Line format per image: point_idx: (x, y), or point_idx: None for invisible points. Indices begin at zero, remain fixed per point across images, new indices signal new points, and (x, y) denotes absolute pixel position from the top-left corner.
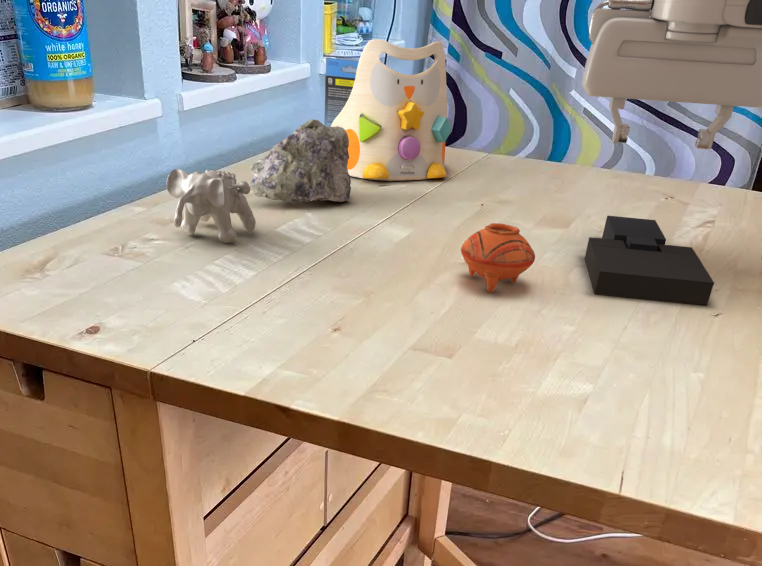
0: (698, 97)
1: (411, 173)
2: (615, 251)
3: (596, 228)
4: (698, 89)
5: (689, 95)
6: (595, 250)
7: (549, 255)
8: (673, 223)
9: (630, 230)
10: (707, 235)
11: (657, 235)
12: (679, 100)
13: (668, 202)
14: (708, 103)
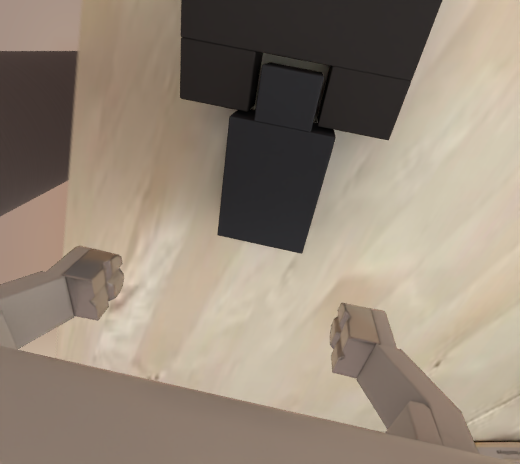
0: (57, 381)
1: (501, 451)
2: (372, 35)
3: (291, 280)
4: (37, 424)
5: (103, 399)
6: (423, 35)
7: (448, 142)
8: (166, 301)
9: (289, 168)
10: (126, 258)
11: (241, 141)
12: (162, 385)
13: (156, 367)
14: (19, 350)
